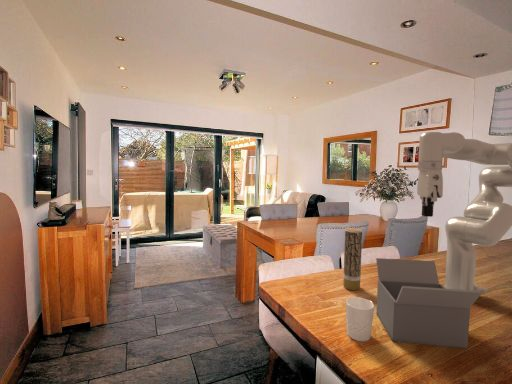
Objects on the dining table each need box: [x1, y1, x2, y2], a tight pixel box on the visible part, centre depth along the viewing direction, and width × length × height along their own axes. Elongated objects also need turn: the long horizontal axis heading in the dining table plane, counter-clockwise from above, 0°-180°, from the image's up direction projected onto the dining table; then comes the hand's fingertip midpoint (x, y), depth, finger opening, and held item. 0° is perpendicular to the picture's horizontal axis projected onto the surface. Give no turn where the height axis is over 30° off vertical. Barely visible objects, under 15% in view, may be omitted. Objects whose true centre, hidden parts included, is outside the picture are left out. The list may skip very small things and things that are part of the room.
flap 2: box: [396, 286, 482, 310], centre depth 76 cm, size 8×19×1 cm
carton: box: [376, 280, 471, 349], centre depth 87 cm, size 20×16×12 cm
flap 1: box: [375, 257, 440, 284], centre depth 97 cm, size 8×19×1 cm
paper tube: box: [342, 227, 363, 291], centre depth 118 cm, size 7×7×25 cm
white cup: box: [345, 296, 375, 342], centre depth 84 cm, size 8×8×10 cm
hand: (427, 216), depth 104 cm, fingers closed
